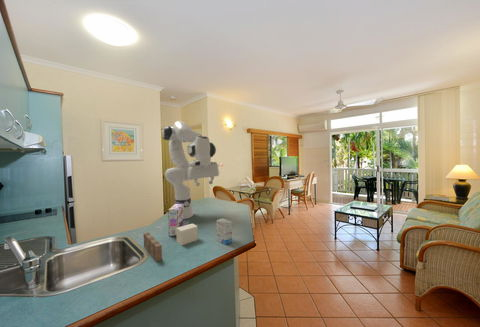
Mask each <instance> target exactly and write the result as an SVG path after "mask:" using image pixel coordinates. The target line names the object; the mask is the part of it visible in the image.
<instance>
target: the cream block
mask: <svg viewBox="0 0 480 327" xmlns="http://www.w3.org/2000/svg"><path fill="white" fill-rule="evenodd" d="M184 225H185V226H182V227H178V228H176V234H177V236H176V243H178V245H180V246H183V245H187V244H189V243H192V242H196V241H198V240H199V234H198V230H199V229H198V228H199V227H198V225H197V224H194V223H190V224H184Z"/></svg>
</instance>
